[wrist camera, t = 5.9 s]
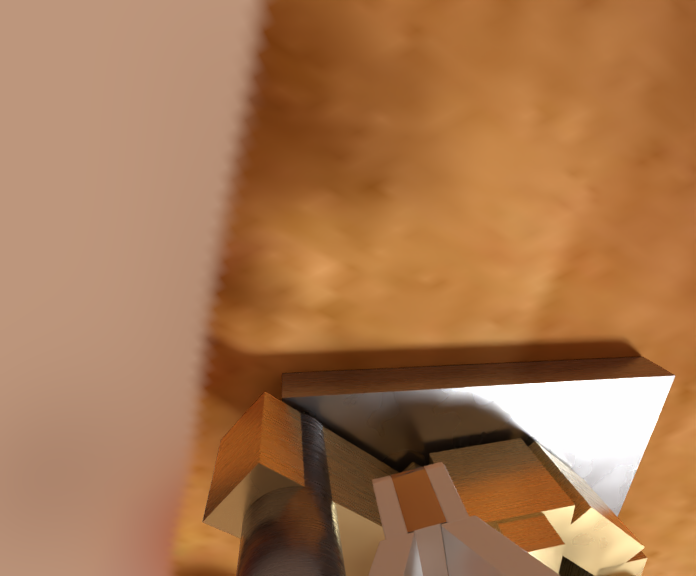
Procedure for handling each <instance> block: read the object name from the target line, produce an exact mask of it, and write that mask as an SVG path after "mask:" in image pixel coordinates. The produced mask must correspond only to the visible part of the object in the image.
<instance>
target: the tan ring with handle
mask: <svg viewBox="0 0 696 576" xmlns="http://www.w3.org/2000/svg"><path fill="white" fill-rule="evenodd" d="M438 462H442V463H443V464H444V465H445V467H446V469H447V471H448V473H449V475H450V477H451V479H452V482H453V484H454V486H455V488H456V490H457V492H458V494H459V496H460V498H461V500H462V502H463V504H464V506H465V509H466V511H467V513H468V515H469V517H470V516H474V515H475V516H477V517H478V518H480V519H481V520H482V521H484V522H485V523H487V524H488V525H490V526H491V527H492V528H494V529H495V530H497V531H498V532H499V533H501V534H502V535H504V536H505V537H507V538H508V539H509V540H511V541H512V542H514V543H515V544H517V545H518V546H519V547H521V548H522V549H524V550H525V551H526V552H528V553H529V554H531V555H532V556H534V557H535V558H536V559H538V560H539V561H541V562H542V563H543V564H545V565H546V566H548V567H549V568H551V569H552V570H553V571H555V572H556V573H558V574H559V575H560V576H641V574H642V572H643V569H644V566H645V563H646V560H647V557H646V556H645V555H644V554H643V553H642V551H641V550H642V549H644V548H645V547H644V546H643V545H642V544H641V542H640V541H639V540H638V539H637V538H636V537H635V536H634V535H633V534H632V532H631V531H630V530H629V529H628V528H627V527H626V526H625V525H624V524H623V523H622V521H621V520H620V519H619V518H618V517H617V516H616V515H615V514H614V513H613V511H612V510H611V509H610V508H609V507H608V506H607V505H606V504H605V503H604V501H603V500H602V499H601V498H600V497H599V496H598V495H597V494H596V493H595V491H594V490H593V489H592V488H591V487H590V486H589V485H588V484H587V483H586V481H585V480H584V479H583V478H581V477H580V476H579V475H577V474H576V473H575V472H574V471H572V470H571V469H570V468H569V467H567V466H566V465H565V464H564V463H562V462H561V461H560V460H559V459H557V458H556V457H555V456H553V455H552V454H551V453H550V452H548V451H547V450H546V449H545V448H543V447H542V446H541V445H540V444H538V443H537V442H536V441H534V442H533V443H532V444H531V445H530V446H529V447H528V446H527V445H526V444H525V443H524V441H523V440H522V439H521V438H518V439H512V440H506V441H500V442H494V443H489V444H483V445H477V446H471V447H465V448H459V449H453V450H447V451H441V452H435V453H429V465H431V464H435V463H438ZM419 467H421V466H420V465H418V464H416V463H415V462H412V463H411V464H410V465H409V466H408V467H407V468H406V469H405V470H404V471H408V470H411V469H415V468H419ZM404 471H402V472H404ZM397 473H399V472H398V471H396V470H394V469H393V468H391V467H390V466H388V465H386V464H385V463H383V462H381V461H380V460H378V459H376V458H375V457H373V456H371V455H370V454H368V453H366V452H365V451H363V450H361V449H360V448H358V447H356V446H355V445H353V444H351V443H350V442H348V441H346V440H345V439H343V438H341V437H340V436H338V435H337V434H335V433H333V432H332V431H330V430H328V429H327V428H325V427H323V426H322V425H321V423H320V422H319V421H318V420H316V419H315V418H313V417H312V416H310V415H307V414H304V413H300V412H298V411H297V410H295V409H293V408H292V407H290V406H289V405H287V404H285V403H284V402H282V401H280V400H279V399H277V398H275V397H274V396H272V395H270V394H269V393H267V392H264V393H263V394H262V395H261V396H260V397H259V398H258V400H257V401H256V402H255V403H254V404H253V405H252V406H251V407H250V408H249V409H248V411H247V412H246V413H245V414H244V415H243V416H242V417H241V418H240V419H239V420H238V422H237V423H236V424H235V425H234V426H233V427H232V428H231V429H230V430H229V431H228V433H227V434H226V435H225V436H224V437H223V438H222V439H221V441H220V446H219V450H218V455H217V459H216V464H215V468H214V473H213V477H212V482H211V486H210V491H209V495H208V500H207V504H206V508H205V513H204V517H203V523H205V524H208V525H210V526H212V527H215V528H217V529H219V530H222V531H224V532H227V533H229V534H231V535H234V536H236V537H238V538H241V540H240V549H239V558H238V566H237V575H236V576H368V574H369V571H370V568H371V566H372V563H373V560H374V557H375V554H376V551H377V548H378V545H379V542H380V541H382V540H385V536H384V532H383V527H382V523H381V519H380V514H379V510H378V506H377V501H376V497H375V493H374V488H373V482H372V480H373V479H377V478H381V477H385V476H389V475H392V474H397Z"/></svg>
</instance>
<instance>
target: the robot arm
mask: <svg viewBox="0 0 696 576" xmlns="http://www.w3.org/2000/svg"><path fill="white" fill-rule="evenodd" d="M372 482H373V488H374V493H375V497H376V501H377V506H378V510H379V514H380V519H381V523H382V527H383V532H384V536H385V540H382V541H380V542H379V545H378V548H377V551H376V554H375V557H374V560H373V563H372V566H371V568H370V571H369V574H368V576H560V575H559V574H558V573H556V572H555V571H553V570H552V569H551V568H549V567H548V566H546V565H545V564H543V563H542V562H541V561H539V560H538V559H536V558H535V557H534V556H532V555H531V554H529V553H528V552H526V551H525V550H524V549H522V548H521V547H519V546H518V545H517V544H515V543H514V542H512V541H511V540H509V539H508V538H507V537H505V536H504V535H502V534H501V533H499V532H498V531H497V530H495V529H494V528H492V527H491V526H490V525H488V524H487V523H485V522H484V521H482V520H481V519H480V518H478V517H477V516H475V515H474V516H470V517H469V515H468V513H467V511H466V509H465V506H464V504H463V502H462V500H461V498H460V496H459V494H458V492H457V490H456V488H455V486H454V484H453V482H452V479H451V477H450V475H449V473H448V471H447V469H446V467H445V465H444V464H443V463H442V462H438V463H435V464H431V465H427V466H424V467H423V466H422V467H419V468H415V469H411V470H408V471H404V472H401V473H397V474H392V475H389V476H385V477H381V478H377V479H373V480H372Z"/></svg>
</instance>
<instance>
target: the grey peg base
mask: <svg viewBox="0 0 696 576" xmlns="http://www.w3.org/2000/svg"><path fill="white" fill-rule="evenodd" d="M674 378H675V375H674V374H672V373H670V372H668V371H667V370H665V369H663V368H662V367H660V366H658V365H656V364H655V363H653V362H651V361H650V360H648V359H646V358H644V357H626V358H604V359H583V360H561V361H540V362H518V363H496V364H475V365H453V366H431V367H410V368H388V369H366V370H345V371H323V372H302V373H282V402H284V403H285V404H287V405H289V406H290V407H292V408H293V409H295V410H297V411H298V412H300V413H304V414H307V415H310V416H312V417H313V418H315V419H316V420H318V421H319V422H320V423H321V425H322V426H323V427H325V428H327V429H328V430H330V431H332V432H333V433H335V434H337V435H338V436H340V437H341V438H343V439H345V440H346V441H348V442H350V443H351V444H353V445H355V446H356V447H358V448H360V449H361V450H363V451H365V452H366V453H368V454H370V455H371V456H373V457H375V458H376V459H378V460H380V461H381V462H383V463H385V464H386V465H388V466H390V467H391V468H393V469H394V470H396V471H398V472H399V473H401V472H402V471H404V470H405V469H406V468H407V467H408V466H409V465H410V464H411V463H412V462H415V463H416V464H418V465H420V466H421V467H422V466H423V467H424V466H427V465H429V453H435V452H441V451H447V450H453V449H459V448H465V447H471V446H477V445H483V444H489V443H494V442H500V441H506V440H512V439H518V438H521V439H522V440H523V441H524V443H525V444H526V445H527V446H528V447H529V446H530V445H531V444H532V443H533V442H534V441H536V442H537V443H538V444H540V445H541V446H542V447H543V448H545V449H546V450H547V451H548V452H550V453H551V454H552V455H553V456H555V457H556V458H557V459H559V460H560V461H561V462H562V463H564V464H565V465H566V466H567V467H569V468H570V469H571V470H572V471H574V472H575V473H576V474H577V475H579V476H580V477H581V478H583V479H584V480H585V481H586V483H587V484H588V485H589V486H590V487H591V488H592V489H593V490H594V491H595V493H596V494H597V495H598V496H599V497H600V498H601V499H602V500H603V501H604V503H605V504H606V505H607V506H608V507H609V508H610V509H611V510H612V511H613V513H614V514H615V515H616V516H617V517H618V514H619V512H620V509H621V507H622V505H623V502H624V500H625V497H626V495H627V492H628V490H629V487H630V485H631V483H632V480H633V478H634V475H635V473H636V470H637V468H638V465H639V463H640V461H641V458H642V456H643V453H644V451H645V448H646V446H647V444H648V441H649V439H650V436H651V434H652V431H653V429H654V426H655V424H656V422H657V419H658V417H659V414H660V412H661V409H662V407H663V405H664V402H665V400H666V397H667V395H668V392H669V390H670V387H671V385H672V383H673V380H674Z"/></svg>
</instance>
